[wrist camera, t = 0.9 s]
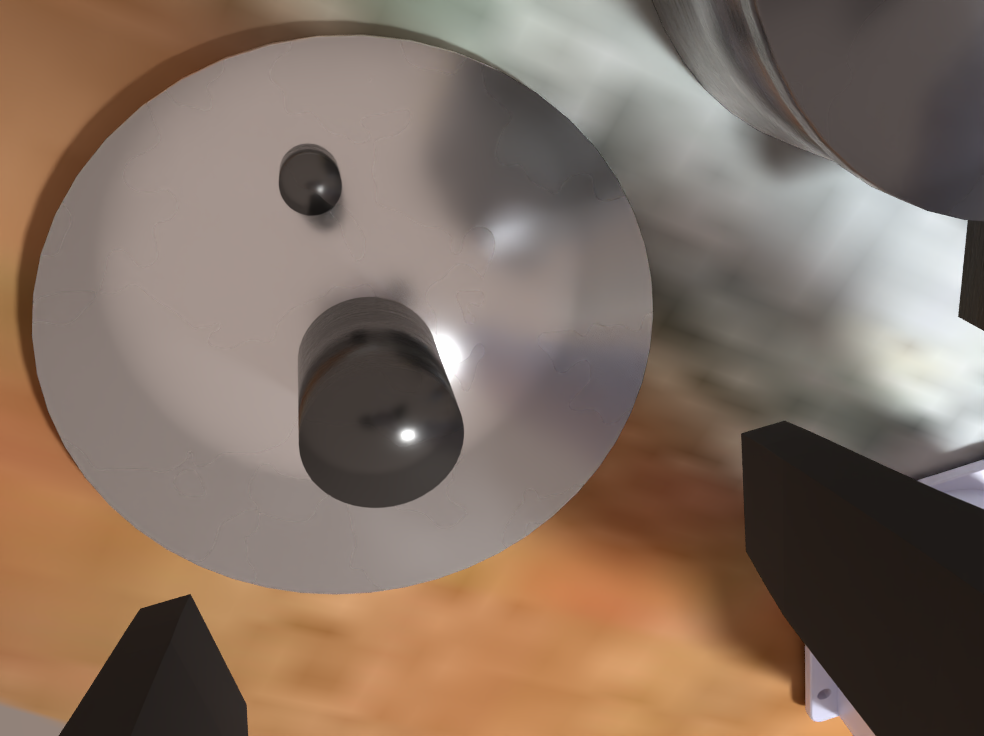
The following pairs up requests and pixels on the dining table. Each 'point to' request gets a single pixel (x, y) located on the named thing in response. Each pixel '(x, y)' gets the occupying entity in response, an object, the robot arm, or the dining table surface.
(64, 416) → the lid
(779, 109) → the cooking pot
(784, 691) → the dining table surface
